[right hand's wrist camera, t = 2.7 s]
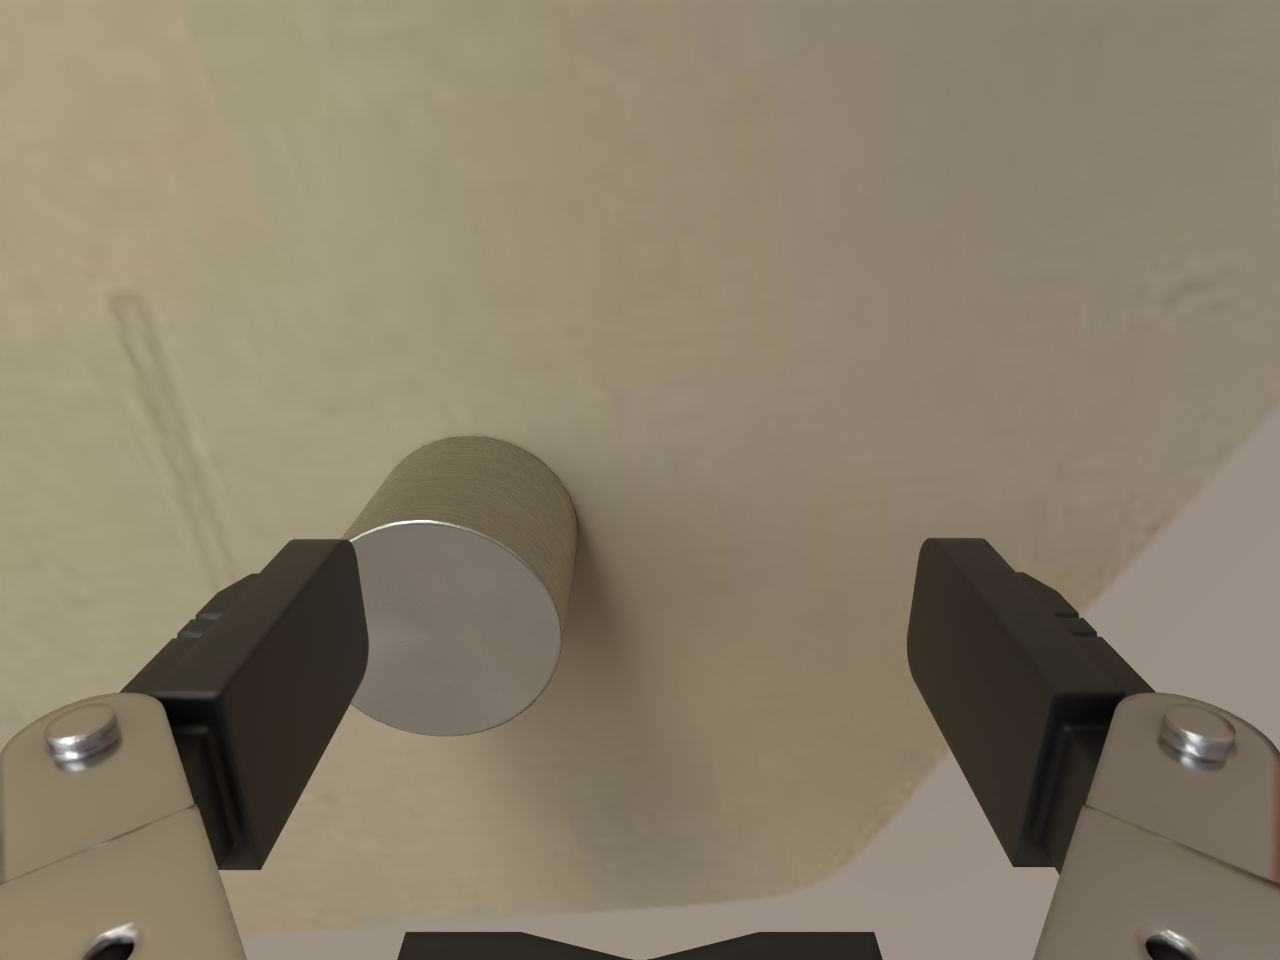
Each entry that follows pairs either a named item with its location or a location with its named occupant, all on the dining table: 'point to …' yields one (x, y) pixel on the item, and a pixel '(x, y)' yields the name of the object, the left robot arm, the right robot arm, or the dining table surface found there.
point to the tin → (463, 586)
